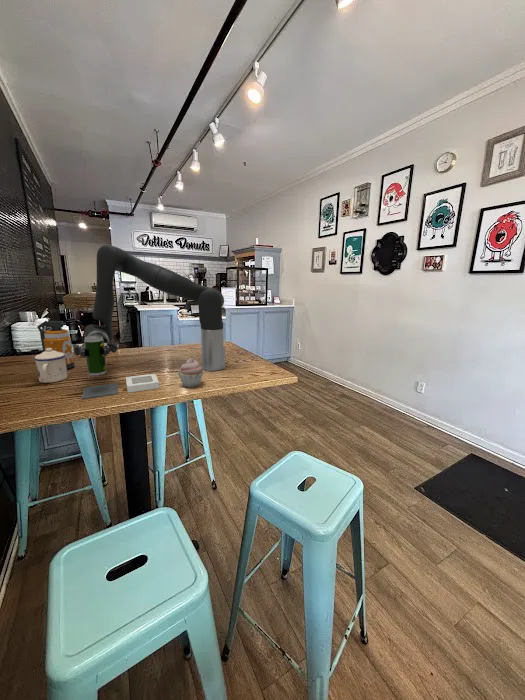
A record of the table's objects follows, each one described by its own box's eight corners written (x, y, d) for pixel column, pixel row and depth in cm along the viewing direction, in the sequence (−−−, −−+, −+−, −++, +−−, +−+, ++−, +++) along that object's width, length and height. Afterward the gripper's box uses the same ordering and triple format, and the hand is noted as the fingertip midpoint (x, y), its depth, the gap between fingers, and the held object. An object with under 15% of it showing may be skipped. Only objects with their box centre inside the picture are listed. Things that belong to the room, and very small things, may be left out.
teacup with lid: (43, 376, 108) (38, 346, 105) (71, 374, 111) (67, 345, 108) (30, 387, 97) (24, 354, 94) (62, 384, 100) (56, 352, 97)
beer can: (88, 376, 89) (84, 339, 86) (87, 371, 94) (83, 336, 91) (107, 374, 92) (103, 338, 89) (106, 369, 97) (102, 335, 94)
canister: (65, 371, 113) (57, 322, 108) (37, 371, 113) (28, 321, 108) (79, 365, 122) (73, 319, 117) (54, 364, 122) (46, 318, 117)
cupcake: (191, 391, 96) (190, 363, 94) (172, 385, 101) (171, 358, 99) (210, 383, 104) (209, 357, 101) (192, 378, 109) (191, 353, 106)
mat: (117, 384, 101) (117, 383, 101) (117, 394, 92) (117, 393, 92) (84, 388, 97) (84, 387, 96) (81, 399, 88) (81, 398, 88)
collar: (155, 379, 107) (155, 373, 106) (159, 388, 98) (159, 382, 98) (126, 383, 102) (125, 377, 102) (127, 392, 94) (127, 386, 93)
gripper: (72, 333, 99) (65, 343, 85) (118, 331, 106) (119, 340, 91) (75, 354, 101) (69, 367, 87) (120, 350, 108) (121, 362, 93)
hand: (94, 353), depth 89 cm, fingers closed on beer can, 5 cm apart
